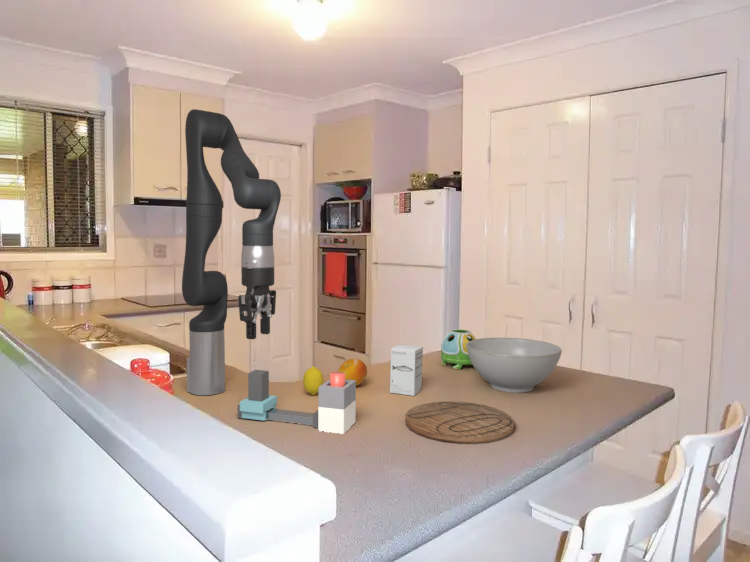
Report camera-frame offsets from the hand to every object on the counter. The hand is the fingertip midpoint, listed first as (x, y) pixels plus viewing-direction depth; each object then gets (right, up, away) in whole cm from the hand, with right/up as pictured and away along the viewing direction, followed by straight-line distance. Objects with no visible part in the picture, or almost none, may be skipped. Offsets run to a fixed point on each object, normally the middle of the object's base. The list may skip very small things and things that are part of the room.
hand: (258, 336), depth 131 cm
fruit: (+21, -18, +30) cm, 40 cm away
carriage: (0, -19, +2) cm, 19 cm away
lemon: (+11, -18, +20) cm, 29 cm away
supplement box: (+36, -18, +25) cm, 48 cm away
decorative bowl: (+67, -18, +31) cm, 76 cm away
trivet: (+47, -21, -1) cm, 51 cm away
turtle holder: (+57, -16, +56) cm, 82 cm away
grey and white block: (+19, -20, -4) cm, 28 cm away
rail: (+6, -20, 0) cm, 20 cm away
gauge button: (+19, -14, -5) cm, 24 cm away
